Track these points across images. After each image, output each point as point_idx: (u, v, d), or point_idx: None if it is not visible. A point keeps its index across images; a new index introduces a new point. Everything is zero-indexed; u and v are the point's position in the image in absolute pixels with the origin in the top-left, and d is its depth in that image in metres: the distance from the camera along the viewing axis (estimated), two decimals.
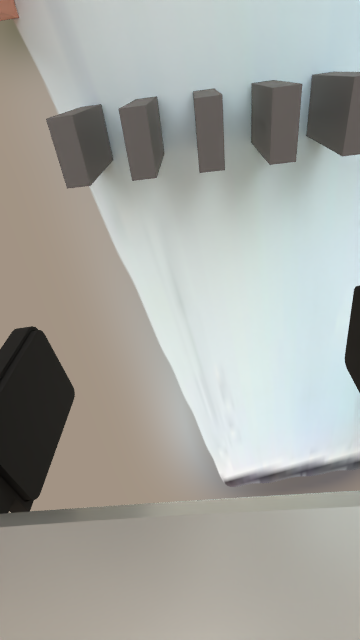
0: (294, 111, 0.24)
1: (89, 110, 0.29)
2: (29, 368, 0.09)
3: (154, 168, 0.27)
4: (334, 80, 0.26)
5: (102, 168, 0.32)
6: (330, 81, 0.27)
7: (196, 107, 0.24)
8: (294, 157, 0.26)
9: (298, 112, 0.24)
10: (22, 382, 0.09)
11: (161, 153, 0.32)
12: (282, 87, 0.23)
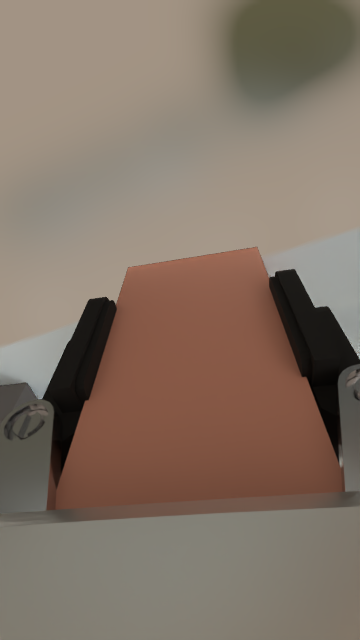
0: None
1: None
2: (108, 333, 0.10)
3: None
4: None
5: None
6: None
7: None
8: None
9: None
10: (105, 345, 0.09)
11: None
12: None
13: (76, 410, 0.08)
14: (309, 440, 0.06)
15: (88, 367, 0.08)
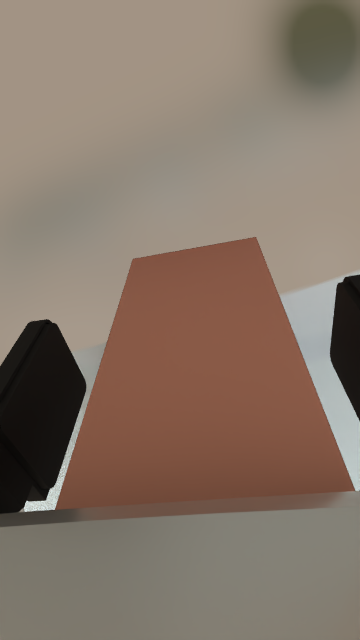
0: None
1: None
2: (45, 359, 0.09)
3: None
4: None
5: None
6: None
7: None
8: None
9: None
10: (38, 373, 0.09)
11: None
12: None
13: None
14: (302, 404, 0.07)
15: (9, 401, 0.08)
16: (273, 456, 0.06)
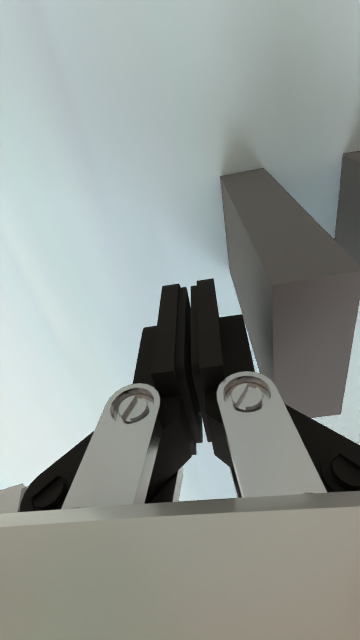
0: None
1: None
2: (187, 320, 0.10)
3: None
4: None
5: None
6: None
7: None
8: None
9: None
10: (187, 331, 0.09)
11: None
12: None
13: (174, 395, 0.08)
14: None
15: (183, 351, 0.08)
16: None
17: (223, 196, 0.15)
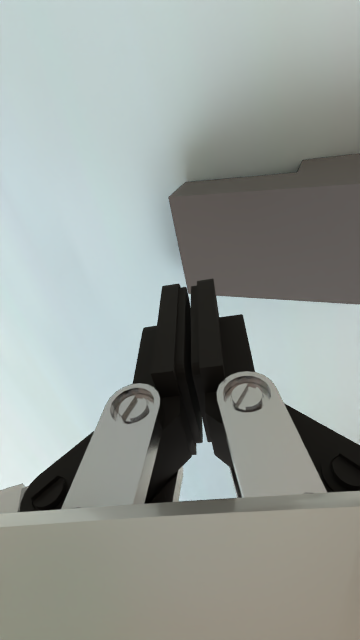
0: None
1: None
2: (187, 320, 0.10)
3: None
4: None
5: None
6: None
7: None
8: None
9: None
10: (187, 331, 0.09)
11: None
12: None
13: (174, 395, 0.08)
14: None
15: (184, 351, 0.08)
16: None
17: (185, 212, 0.15)
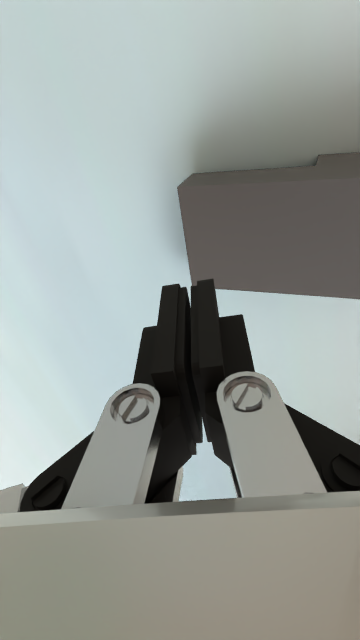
0: None
1: None
2: (187, 320, 0.10)
3: None
4: None
5: None
6: None
7: None
8: None
9: None
10: (187, 331, 0.09)
11: None
12: None
13: (173, 395, 0.08)
14: None
15: (183, 351, 0.08)
16: None
17: (194, 203, 0.15)
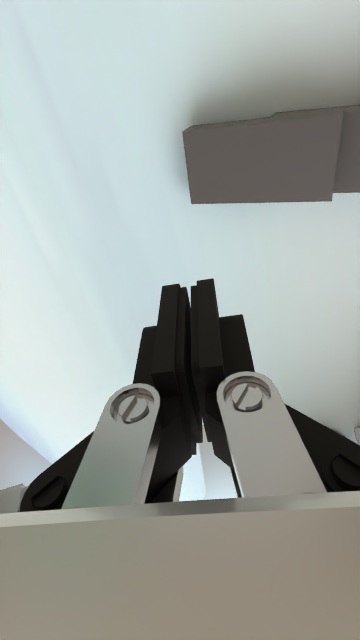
0: None
1: None
2: (187, 320, 0.10)
3: None
4: None
5: None
6: None
7: None
8: None
9: None
10: (187, 331, 0.09)
11: None
12: None
13: (174, 395, 0.08)
14: None
15: (184, 351, 0.08)
16: None
17: (193, 142, 0.23)
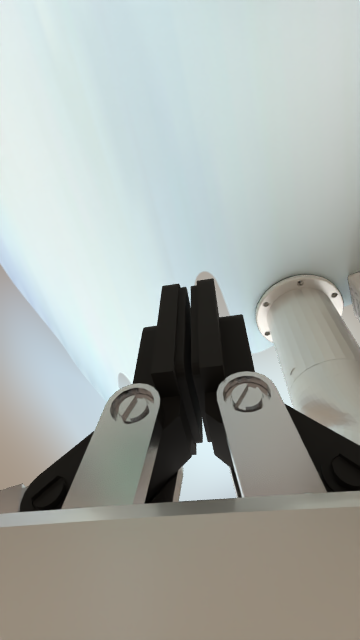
0: None
1: None
2: (188, 320, 0.10)
3: None
4: None
5: None
6: None
7: None
8: None
9: None
10: (187, 331, 0.09)
11: None
12: None
13: (174, 395, 0.08)
14: None
15: (183, 351, 0.08)
16: None
17: None
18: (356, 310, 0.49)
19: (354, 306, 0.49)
